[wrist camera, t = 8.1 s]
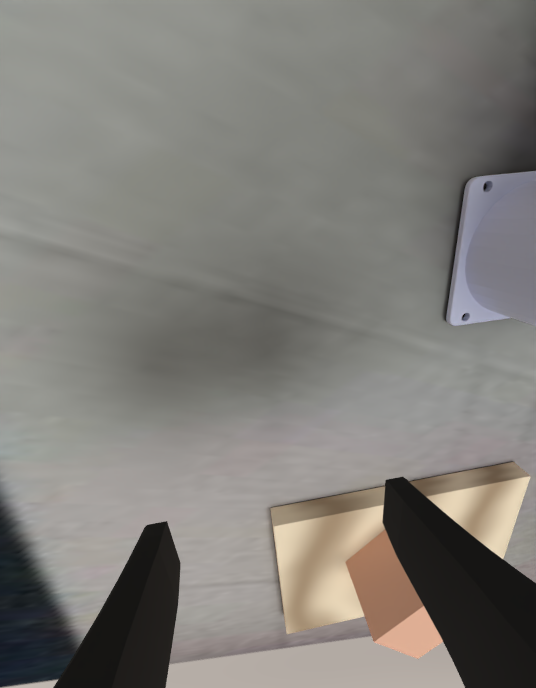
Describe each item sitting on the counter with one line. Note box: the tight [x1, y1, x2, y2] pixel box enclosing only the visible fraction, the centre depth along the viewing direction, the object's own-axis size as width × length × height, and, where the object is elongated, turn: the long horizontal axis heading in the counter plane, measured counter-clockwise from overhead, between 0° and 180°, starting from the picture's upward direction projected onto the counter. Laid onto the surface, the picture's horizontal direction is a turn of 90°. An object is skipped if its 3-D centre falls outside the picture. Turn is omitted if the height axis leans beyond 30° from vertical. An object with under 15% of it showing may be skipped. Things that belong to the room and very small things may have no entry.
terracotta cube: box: [345, 530, 443, 659], centre depth 22 cm, size 5×5×5 cm
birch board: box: [270, 462, 530, 634], centre depth 26 cm, size 20×14×2 cm
